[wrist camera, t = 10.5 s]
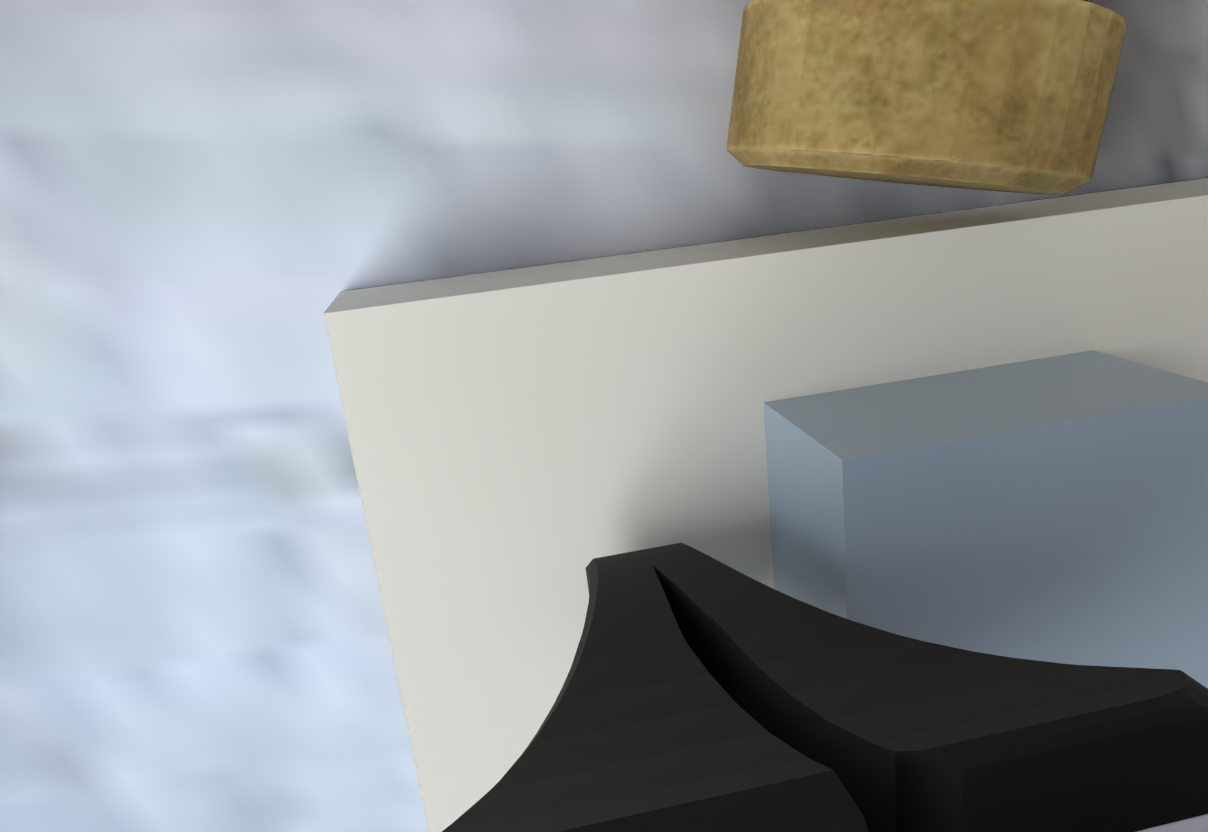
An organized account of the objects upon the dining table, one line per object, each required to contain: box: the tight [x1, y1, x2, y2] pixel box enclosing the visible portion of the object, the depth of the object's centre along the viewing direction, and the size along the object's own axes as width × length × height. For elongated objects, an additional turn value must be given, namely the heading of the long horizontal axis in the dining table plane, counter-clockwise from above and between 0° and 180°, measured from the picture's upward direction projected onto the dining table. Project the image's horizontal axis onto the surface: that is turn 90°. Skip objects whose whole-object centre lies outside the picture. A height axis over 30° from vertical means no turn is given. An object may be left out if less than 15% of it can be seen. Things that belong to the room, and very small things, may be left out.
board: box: [323, 178, 1208, 832], centre depth 15 cm, size 16×14×2 cm
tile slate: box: [763, 350, 1208, 689], centre depth 12 cm, size 5×5×2 cm
